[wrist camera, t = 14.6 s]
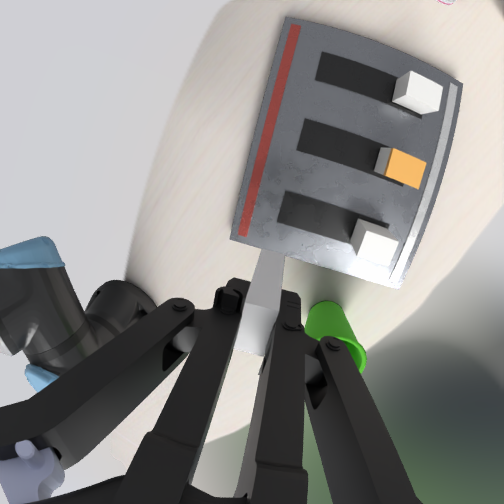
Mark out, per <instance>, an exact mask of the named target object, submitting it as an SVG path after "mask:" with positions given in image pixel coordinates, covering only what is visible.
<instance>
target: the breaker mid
mask: <svg viewBox="0 0 504 504" xmlns="http://www.w3.org/2000/svg"><path fill="white" fill-rule="evenodd" d="M425 166H426V162H424V161H422V160H420V159H418V158H415V157H413V156H411V155H409V154H406V153H404V152H402V151H399V150H397V149H395V148H382V147H381V148H380V152H379V155H378V159H377V162H376V166H375V169H374V172H377V173H380V174H382V175H385V176H387V177H390V178H392V179H395V180H397V181H400V182H402V183H405V184H407V185H409V186H412V187H414V188H416V189H419V186H420V183H421V180H422V176H423V173H424V170H425Z"/></svg>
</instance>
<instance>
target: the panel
mask: <svg viewBox="0 0 504 504" xmlns="http://www.w3.org/2000/svg"><path fill="white" fill-rule="evenodd" d="M409 71H413V72H415V73H417V74H419V75H421V76H423V77H425V78H427V79H429V80H431V81H433V82H435V83H437V84H439V85H441V86H442V87H443V90H442V96H441V101H440V106H439V111H435V112H430V113H426V114H419V113H417V112H415V111H413V110H411V109H408V108H406V107H404V106H402V105H399V104H397V103H395V102H392V99H393V94H394V90H395V85H396V80H397V79H399V78H400V77H402V76H403V75H405V74H406V73H408V72H409ZM462 88H463V84H462V83H461V82H459V81H458V80H456V79H454V78H452V77H451V76H449V75H447V74H445V73H444V72H442V71H440V70H438V69H436V68H434V67H433V66H431V65H429V64H427V63H425V62H423V61H421V60H419V59H416V58H414V57H412V56H410V55H408V54H406V53H403V52H401V51H399V50H396V49H394V48H392V47H389V46H387V45H384V44H382V43H379V42H376V41H374V40H371V39H368V38H365V37H362V36H359V35H356V34H353V33H350V32H347V31H343V30H340V29H337V28H333V27H329V26H325V25H322V24H317V23H313V22H309V21H304V20H300V19H295V18H289V17H286V18H285V22H284V25H283V29H282V32H281V36H280V39H279V43H278V46H277V50H276V54H275V57H274V61H273V65H272V68H271V72H270V76H269V79H268V83H267V87H266V91H265V95H264V98H263V102H262V106H261V110H260V114H259V118H258V122H257V126H256V130H255V134H254V138H253V142H252V146H251V150H250V154H249V158H248V162H247V166H246V170H245V175H244V179H243V183H242V187H241V191H240V196H239V200H238V204H237V209H236V213H235V217H234V222H233V226H232V231H231V235H230V240H233V241H237V242H240V243H244V244H247V245H250V246H254V247H257V248H261V249H266V250H270V251H274V252H278V253H281V254H285V256H288V257H291V258H295V259H298V260H301V261H305V262H308V263H311V264H315V265H318V266H322V267H325V268H328V269H332V270H335V271H338V272H342V273H345V274H348V275H352V276H355V277H358V278H362V279H365V280H368V281H372V282H375V283H378V284H382V285H385V286H388V287H392V288H395V289H398V290H399V288H400V286H401V284H402V282H403V280H404V278H405V276H406V274H407V271H408V269H409V267H410V265H411V263H412V260H413V258H414V256H415V253H416V251H417V249H418V246H419V244H420V241H421V239H422V236H423V234H424V231H425V229H426V226H427V223H428V221H429V218H430V215H431V212H432V210H433V207H434V204H435V201H436V198H437V195H438V192H439V189H440V185H441V182H442V179H443V175H444V172H445V169H446V165H447V161H448V158H449V154H450V150H451V146H452V141H453V137H454V133H455V128H456V123H457V118H458V113H459V107H460V101H461V95H462ZM381 147H382V148H395V149H397V150H399V151H402V152H404V153H406V154H409V155H411V156H413V157H415V158H418V159H420V160H422V161H424V162H426V166H425V170H424V173H423V176H422V180H421V183H420V186H419V189H416V188H414V187H412V186H409V185H407V184H405V183H402V182H400V181H397V180H395V179H392V178H390V177H387V176H385V175H382V174H380V173H377V172H374V169H375V166H376V162H377V159H378V155H379V152H380V148H381ZM358 218H359V219H361V220H364V221H367V222H370V223H373V224H376V225H379V226H382V227H384V228H387V229H388V230H389V231H390V232H391V233H392V234H393V236H394V237H395V238H396V239H397V240H398V241H399V243H398V246H397V248H396V251H395V253H394V255H393V258H392V260H391V262H390V265H389V267H388V266H385V265H382V264H379V263H376V262H373V261H370V260H366V259H363V258H360V257H357V256H356V254H355V251H354V249H353V247H352V244H351V242H350V240H351V237H352V234H353V231H354V229H355V226H356V223H357V220H358Z"/></svg>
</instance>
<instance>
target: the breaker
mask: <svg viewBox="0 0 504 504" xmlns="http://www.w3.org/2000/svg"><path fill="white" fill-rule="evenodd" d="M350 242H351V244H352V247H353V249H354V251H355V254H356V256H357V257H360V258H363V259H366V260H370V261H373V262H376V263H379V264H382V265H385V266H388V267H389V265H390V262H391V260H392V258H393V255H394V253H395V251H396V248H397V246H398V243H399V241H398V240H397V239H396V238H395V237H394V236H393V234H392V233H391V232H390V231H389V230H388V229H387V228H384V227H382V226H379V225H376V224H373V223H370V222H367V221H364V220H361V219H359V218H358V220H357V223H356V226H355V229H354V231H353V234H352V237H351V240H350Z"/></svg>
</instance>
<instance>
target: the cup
mask: <svg viewBox="0 0 504 504" xmlns="http://www.w3.org/2000/svg"><path fill="white" fill-rule="evenodd" d="M304 329H305V333H306V334H307V335H309V336H310V337H312V338H314V339H316V340H319V341H320V339H321V338H322V337H324V336H333V337H336V338H338V339H340V340H342V341H343V342H344V343H345V344H346V346H347V348H348V350H349V352H350V354H351V356H352V358H353V360H354V362H355V364H356V366H357V368H358V370H359V372H360V374H361V373H362V371H363V370H364V367H365V365H366V360H367V357H366V352H365V350H364V348H363V346H362V345H361V344H359V343H358V341H357V339H356V337H355V335H354V333H353V331H352V329H351V326H350V324H349V322H348V320H347V318H346V316H345V314H344V312H343V310H342V308H341V307H340V306H339V305H338V304H336V303H334V302H331V301H322V302H319V303H317V304H316V305H315V306H313V307H312V308H311V310H310V312H309V315H308V318H307V322H306V325H305V328H304Z"/></svg>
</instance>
